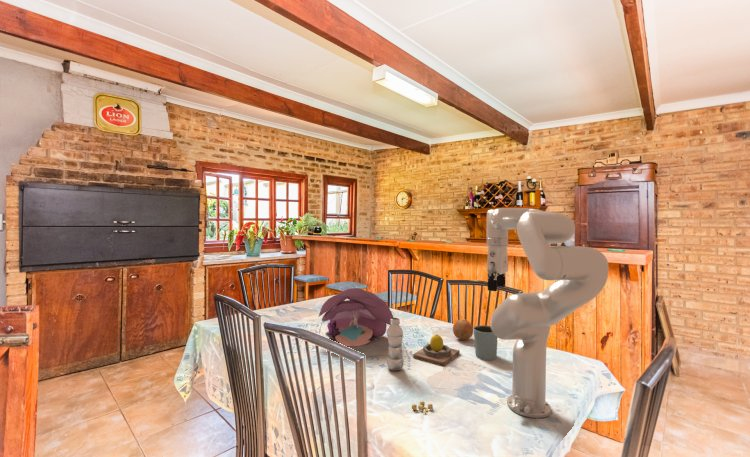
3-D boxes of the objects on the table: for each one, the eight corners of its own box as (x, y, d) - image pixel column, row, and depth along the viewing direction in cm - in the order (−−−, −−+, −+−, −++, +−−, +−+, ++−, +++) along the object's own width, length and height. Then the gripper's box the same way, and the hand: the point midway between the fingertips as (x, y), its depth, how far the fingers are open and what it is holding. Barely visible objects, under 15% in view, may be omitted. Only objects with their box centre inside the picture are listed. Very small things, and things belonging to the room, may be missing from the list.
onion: (471, 336, 176) (471, 316, 176) (474, 343, 166) (475, 322, 166) (451, 335, 177) (451, 316, 176) (454, 342, 167) (454, 322, 167)
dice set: (410, 411, 109) (411, 405, 109) (420, 405, 113) (420, 399, 112) (424, 417, 105) (424, 411, 105) (433, 411, 109) (434, 405, 109)
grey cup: (499, 362, 145) (499, 333, 144) (474, 360, 147) (474, 331, 146) (496, 352, 155) (496, 325, 154) (472, 351, 157) (472, 324, 156)
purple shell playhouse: (325, 359, 159) (320, 303, 152) (317, 333, 181) (312, 283, 174) (397, 344, 169) (395, 290, 162) (381, 321, 191) (379, 272, 184)
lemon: (434, 349, 155) (434, 331, 154) (445, 352, 151) (445, 334, 151) (427, 352, 150) (427, 334, 150) (439, 356, 147) (439, 337, 147)
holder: (443, 366, 141) (443, 358, 140) (413, 357, 149) (413, 350, 149) (459, 353, 153) (459, 346, 153) (430, 346, 162) (431, 339, 162)
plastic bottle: (389, 373, 134) (389, 322, 133) (384, 366, 140) (384, 317, 140) (405, 371, 135) (405, 320, 135) (399, 364, 142) (399, 315, 141)
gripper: (500, 244, 120) (499, 293, 121) (514, 241, 134) (513, 286, 135) (478, 243, 125) (478, 291, 125) (494, 240, 139) (494, 283, 139)
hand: (496, 288), depth 130 cm, fingers open, 9 cm apart
